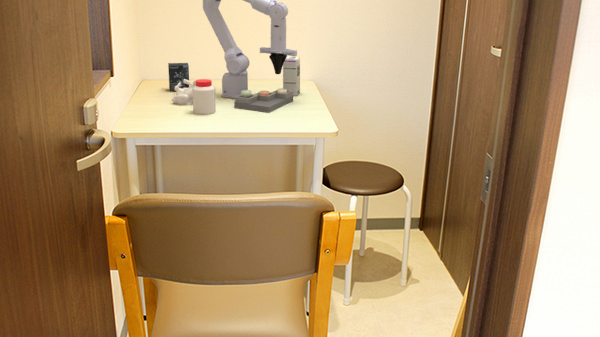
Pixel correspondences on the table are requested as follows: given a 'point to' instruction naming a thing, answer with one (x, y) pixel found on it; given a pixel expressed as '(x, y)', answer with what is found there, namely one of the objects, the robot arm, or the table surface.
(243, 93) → the button sage
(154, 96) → the table surface
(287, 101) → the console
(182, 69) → the box
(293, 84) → the syrup box
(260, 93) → the button terracotta
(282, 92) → the button cream
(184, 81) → the rabbit figurine
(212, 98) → the pill bottle
